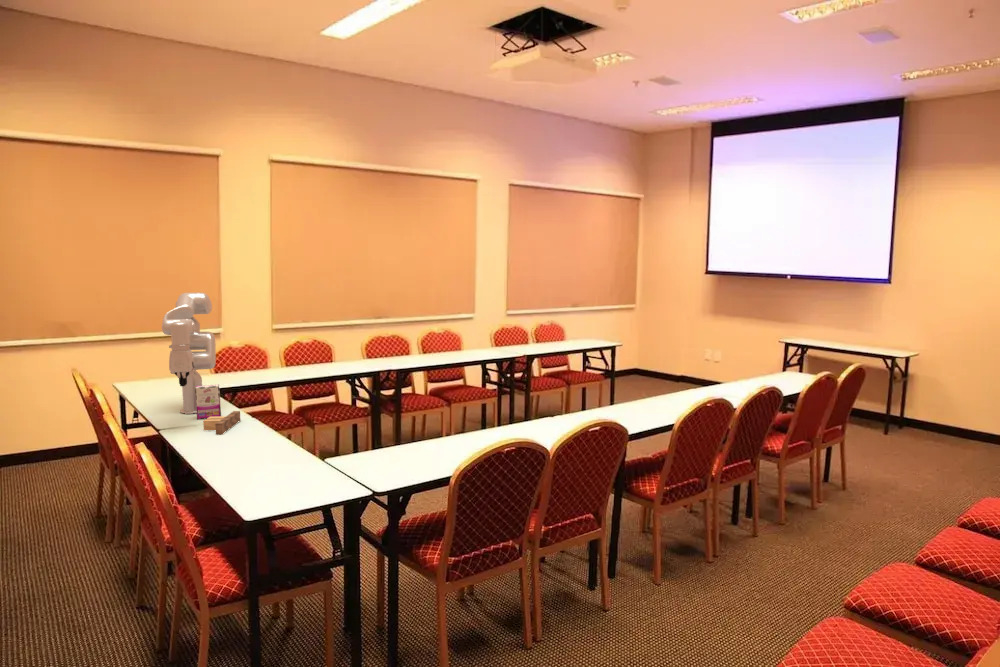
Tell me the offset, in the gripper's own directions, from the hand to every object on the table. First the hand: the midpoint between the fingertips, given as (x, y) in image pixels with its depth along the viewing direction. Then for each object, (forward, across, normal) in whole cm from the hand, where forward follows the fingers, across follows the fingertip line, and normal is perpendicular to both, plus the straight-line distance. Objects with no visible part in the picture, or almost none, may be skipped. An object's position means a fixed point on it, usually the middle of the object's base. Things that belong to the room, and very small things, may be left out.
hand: (183, 385), depth 315 cm
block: (+20, +15, -3) cm, 26 cm away
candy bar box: (+21, +4, +18) cm, 28 cm away
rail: (+20, +21, -1) cm, 29 cm away
